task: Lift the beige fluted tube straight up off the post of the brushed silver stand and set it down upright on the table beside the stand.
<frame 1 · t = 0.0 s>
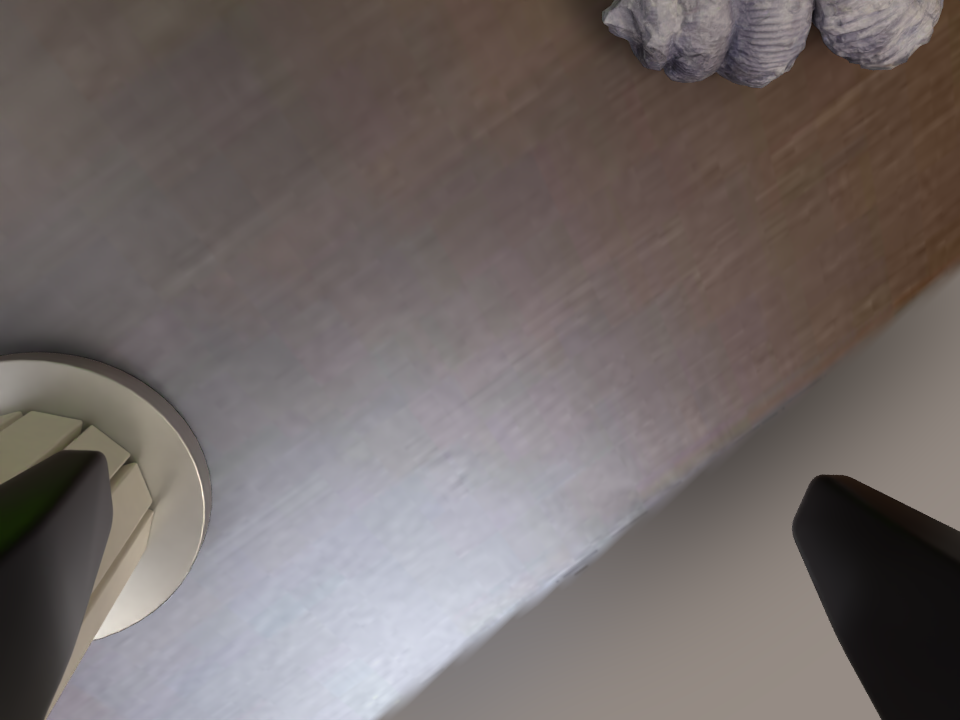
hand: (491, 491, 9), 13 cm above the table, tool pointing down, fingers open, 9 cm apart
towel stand: (55, 496, 20), on the table
seashell: (727, 12, 21), on the table
beige fluted tube: (40, 511, 20), point 1 cm above the table, touching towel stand
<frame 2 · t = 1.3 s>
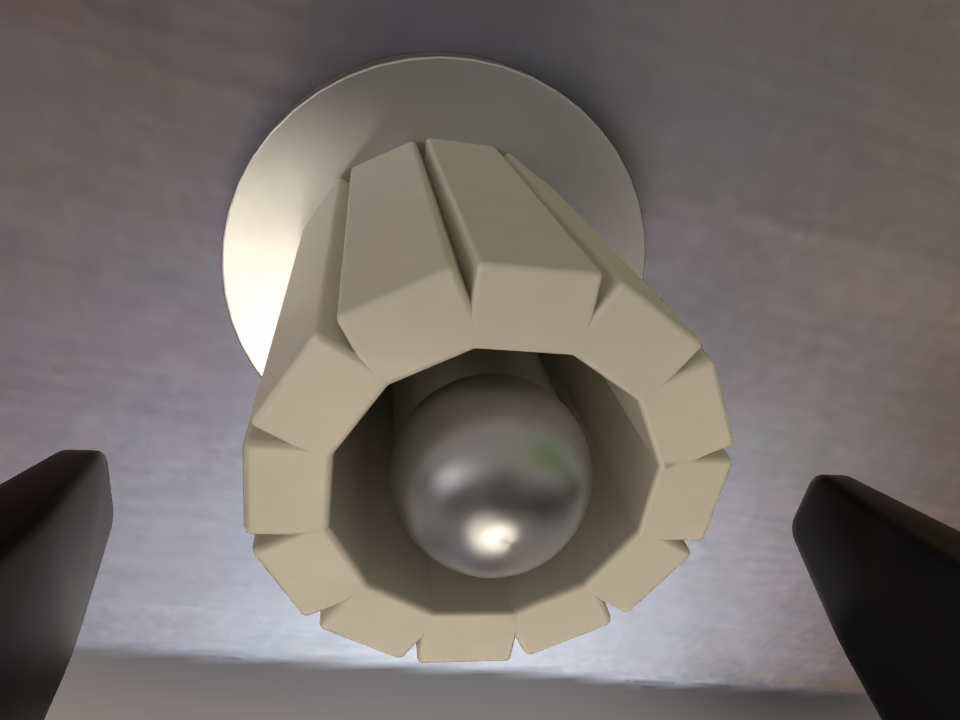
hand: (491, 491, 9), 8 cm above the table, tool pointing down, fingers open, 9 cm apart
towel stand: (438, 269, 15), on the table
beige fluted tube: (442, 286, 14), point 1 cm above the table, touching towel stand
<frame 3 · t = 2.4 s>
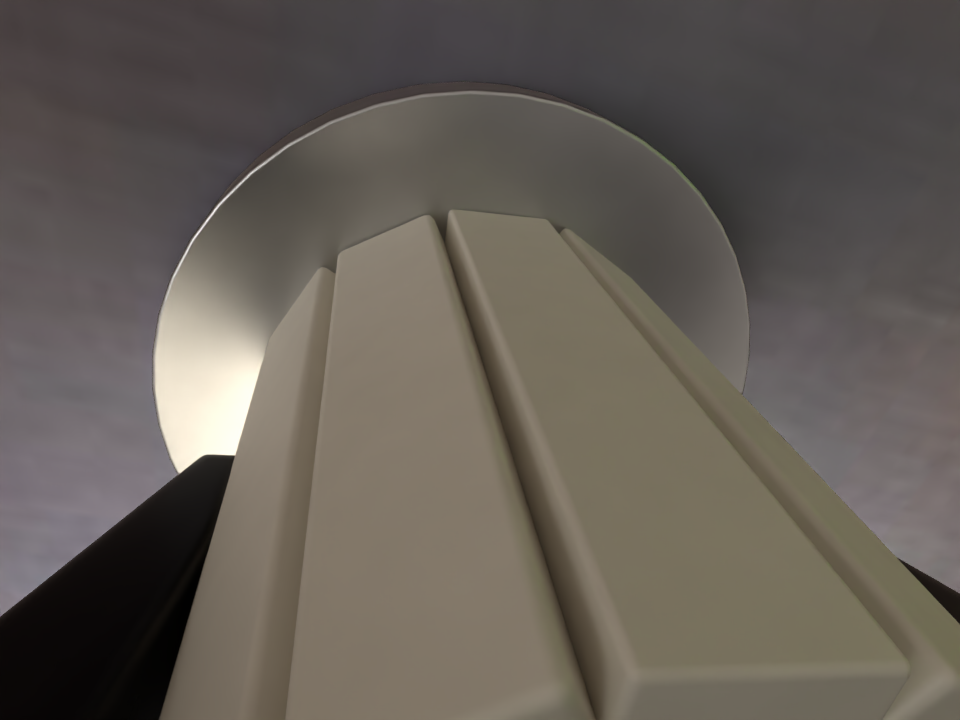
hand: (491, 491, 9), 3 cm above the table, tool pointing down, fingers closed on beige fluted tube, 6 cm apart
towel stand: (461, 374, 11), on the table
beige fluted tube: (468, 406, 10), point 1 cm above the table, touching gripper, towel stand
when the fingers open (2 cm above the table, at t = 8.5 s): beige fluted tube stays where it is, on the table.
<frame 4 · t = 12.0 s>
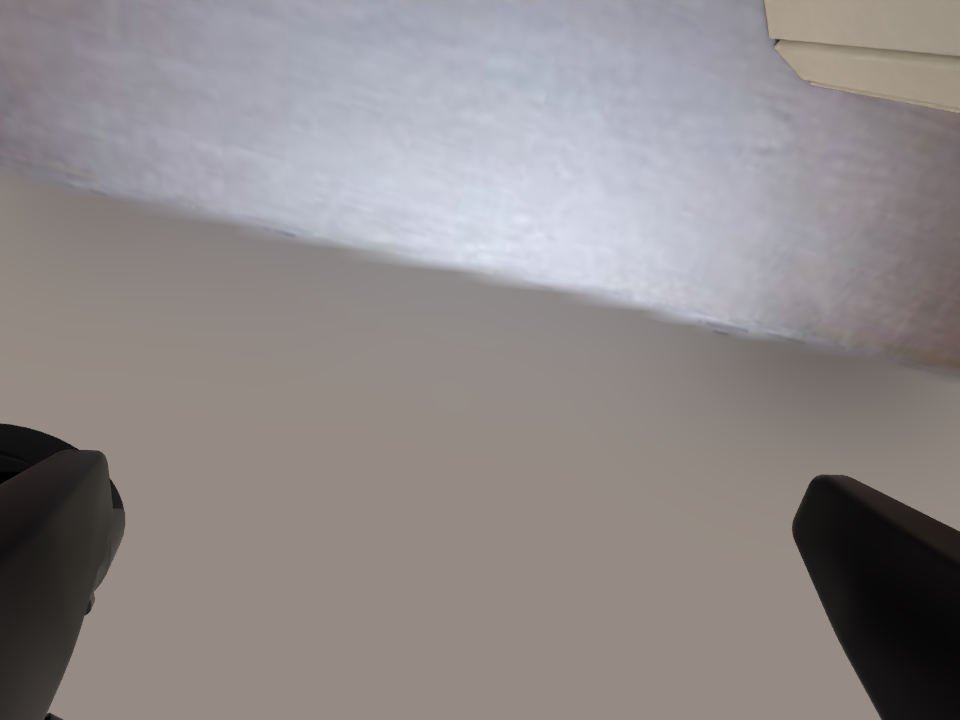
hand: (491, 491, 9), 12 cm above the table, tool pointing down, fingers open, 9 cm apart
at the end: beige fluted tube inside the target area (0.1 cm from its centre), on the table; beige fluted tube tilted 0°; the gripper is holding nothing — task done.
